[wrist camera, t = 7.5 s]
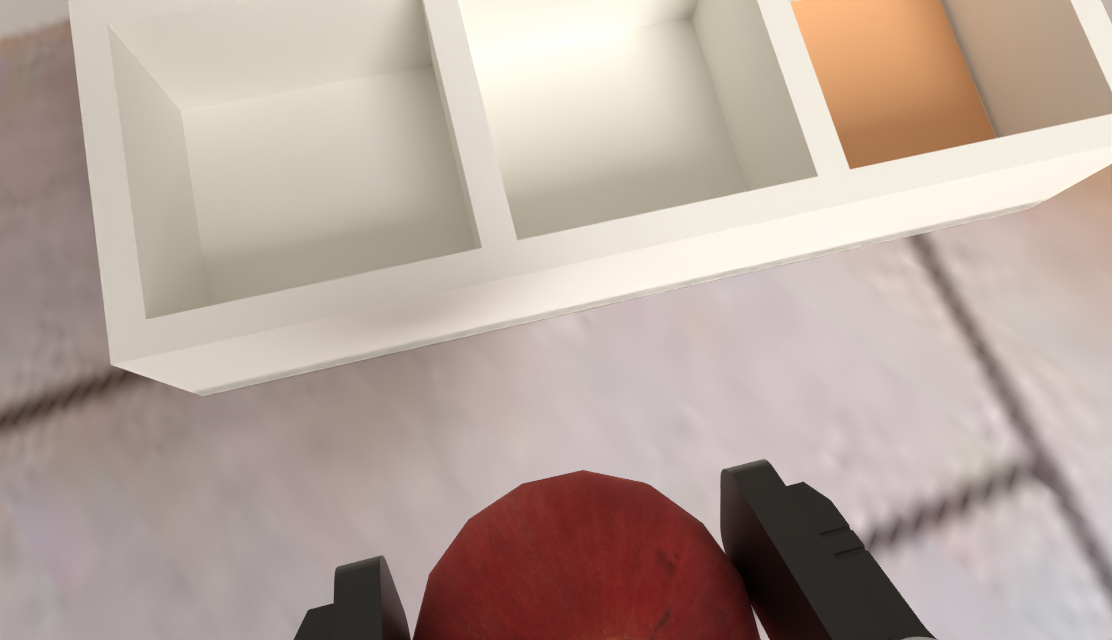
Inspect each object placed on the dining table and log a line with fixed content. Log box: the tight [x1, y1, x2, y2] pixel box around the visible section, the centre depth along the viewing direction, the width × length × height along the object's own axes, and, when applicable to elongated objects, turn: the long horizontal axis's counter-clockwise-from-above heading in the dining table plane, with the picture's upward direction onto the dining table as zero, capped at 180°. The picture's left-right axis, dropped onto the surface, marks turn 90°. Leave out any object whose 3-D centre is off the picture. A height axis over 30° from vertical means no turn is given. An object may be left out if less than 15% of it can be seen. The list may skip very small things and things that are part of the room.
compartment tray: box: [68, 0, 1112, 396], centre depth 25 cm, size 31×11×6 cm, turn 104°
